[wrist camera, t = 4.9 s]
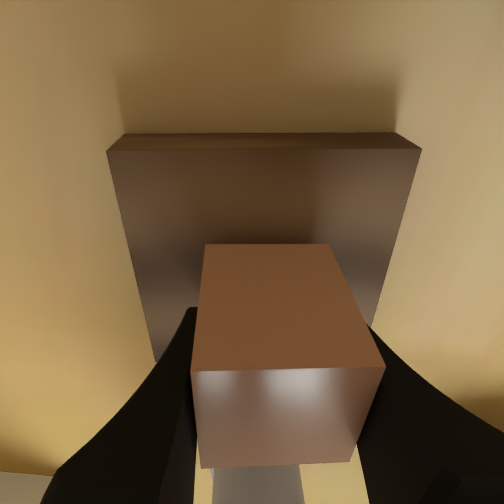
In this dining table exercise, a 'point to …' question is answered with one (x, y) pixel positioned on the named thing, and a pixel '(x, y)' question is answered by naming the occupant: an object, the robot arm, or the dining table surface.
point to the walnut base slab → (257, 207)
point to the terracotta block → (279, 358)
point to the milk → (22, 488)
